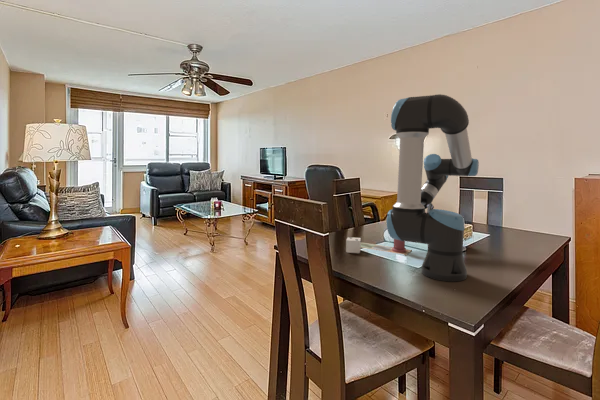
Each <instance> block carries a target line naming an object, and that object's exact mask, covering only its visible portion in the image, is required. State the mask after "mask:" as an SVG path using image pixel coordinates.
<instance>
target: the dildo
mask: <svg viewBox="0 0 600 400" xmlns="http://www.w3.org/2000/svg"><path fill="white" fill-rule="evenodd" d="M405 243H406V241H401V240H396V239H393V246H392V247H393V248H392V251H394V252H400V253H401V252H406V249H407V248H406V247H405V246H406V245H405Z"/></svg>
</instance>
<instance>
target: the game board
mask: <svg viewBox="0 0 600 400" xmlns="http://www.w3.org/2000/svg"><path fill="white" fill-rule="evenodd" d="M393 247H394V246H386V245H380V244H374V243H368V242H362V241H361V249H367V250H374V251H379V252H380V251H381V252H386V253H393V254H399V255H403V256H404V255H405V257H406V256H408V255H409V254H410V253H412V252H413V251H412V249H407V248H406V252H401V253H400V252H394V251H392V248H393ZM408 253H409V254H408Z"/></svg>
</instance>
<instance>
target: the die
mask: <svg viewBox="0 0 600 400" xmlns="http://www.w3.org/2000/svg"><path fill="white" fill-rule="evenodd" d="M361 242H362V240H361V237H354V236H353V237H351V236H350V237H349V236H347V238H346V242H345V246H346V248H345V252H346V253H351V254H361V249H362V248H361Z"/></svg>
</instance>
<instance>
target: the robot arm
mask: <svg viewBox="0 0 600 400" xmlns="http://www.w3.org/2000/svg"><path fill="white" fill-rule="evenodd" d="M469 121H470V120H469V115H468V113H467V111H466V109H465V108H464V106H463V105H462V104H461V103H460V102H459V101H458V100H456V99H455V98H453V97H451V96H449V95H446V94H441V93H440V94H432V95H431V94H430V95H419V96H410V97H406V98H400V99H398V100H396V102H395V103H394V105H393V107H392V111H391V116H390V123H391V129H393V131H395V135H396V136H397V138H399V153H398V154H399V155H398V172H397V173H398V174H397V176H398V177H397V195H396V196H397V197H396V202H395V203H394V204H393V205H392V209H389V210H388V212H387V214H386V215H387V216H386V230H387V232H388V235H389V236H390V238H392V239H393V240H394V239H396V240H401V241H405V242H408V243H409V242H410V243H415V244H425V245H427V253H426V254H425V257H424V260H423V262H422V264H421V274H423V275H424V276H425V277H428V278H431V279H434V280H437V281H444V282H462V281H464V280H466V279H467V275H468V274H467V273H468V270H467V267H466V264H465V260H464V256H463V251H464V237H465V236H464V234H465V230H466V229H465V228H466V227H465V218H464V217H463V215H462V214H460V213H457V212H454V211H452V210H451V211H450V210H446V209H437V208H435V206H434V205H433V203H432V202H433V200H434V199H435V198H436V196H437V195H438V194H439V192H440V191H441V189H442V188H443V186H444V184H445V183H446V182H447V180H448V179H449V176H453V177H454V176H455V177H475V176H477V175H478V172H479V165H480V163H479V159H477V158H472V157H473V156H472V152H471V146H470V141H469V133H468V126H469V125H470V124H469V123H470V122H469ZM430 129H440V130H441V132H442V133H443V134H444V135H445V139H446V143H447V147H448V150H449V153H450V157H451V158H441V156H440V155H439V154H436V153H430V154H428V155H427V156H425V157H424V147H425V146H424V144H425V139H426V137H427V136H428V135H429V133H430ZM423 168H424V169H423ZM423 170H424V172H425V174H426V181H425V183H424V184H423V182H422V181H423ZM422 184H423V185H422ZM426 209H427V211H426Z"/></svg>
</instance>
